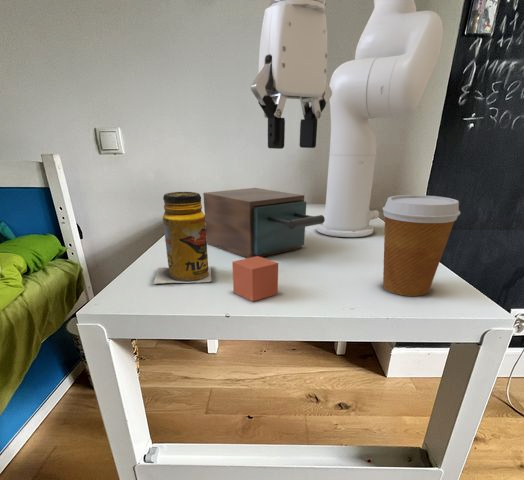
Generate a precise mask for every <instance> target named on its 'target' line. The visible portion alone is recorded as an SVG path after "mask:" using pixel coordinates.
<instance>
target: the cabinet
mask: <svg viewBox="0 0 524 480" xmlns="http://www.w3.org/2000/svg"><path fill="white" fill-rule="evenodd" d="M202 196H203V208H204V209H203V211H204V215H205V226H206V240H207V245H209V246H211V247H215V248H218V249H220V250H223V251H226V252H229V253H231V254H234V255H238V256H240V257H243V258H245V259H247V258H251V257H256V256H259V257H262V258H264V257H267V256H272V255H276V254H279V253H285V252H289V251H295V250H299V249H302V248H303V245H301V246H297V247H292V248H288V249H283V250H279V251H274V252H269V253H265V254H260V255H256V254H253V206H261V205H269V204H276V203H284V202H292V201H294V202H298V201H305V194H299V193H292V192H285V191H279V190H273V189H266V188H259V187H250V188H238V189H229V190H219V191H207V192H203V193H202Z"/></svg>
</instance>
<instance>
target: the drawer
mask: <svg viewBox="0 0 524 480" xmlns="http://www.w3.org/2000/svg"><path fill="white" fill-rule="evenodd" d="M324 221H325V215H322V214H318V215H309V214H307V201H305V200H304V201H298V202H294V201H292V202H284V203H276V204H269V205H261V206H253V254H256V255H260V254H265V253H269V252H274V251H279V250H283V249H288V248H292V247H297V246H301V245H302V246H305V236H306V227H311V226H317V225H318V224H323V223H324Z"/></svg>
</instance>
